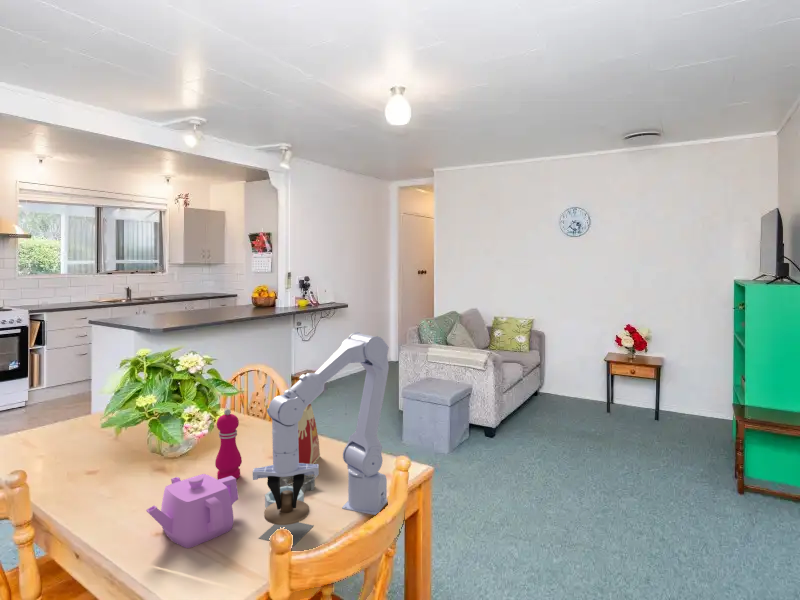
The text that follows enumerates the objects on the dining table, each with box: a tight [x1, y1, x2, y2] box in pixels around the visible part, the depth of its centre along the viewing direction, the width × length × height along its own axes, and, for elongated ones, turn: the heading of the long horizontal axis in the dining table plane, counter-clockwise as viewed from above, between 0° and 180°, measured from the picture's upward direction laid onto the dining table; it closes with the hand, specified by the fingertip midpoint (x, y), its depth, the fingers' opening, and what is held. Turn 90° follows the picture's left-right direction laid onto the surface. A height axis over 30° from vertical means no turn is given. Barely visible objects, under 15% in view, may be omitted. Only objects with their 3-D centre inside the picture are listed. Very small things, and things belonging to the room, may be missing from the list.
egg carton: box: [280, 475, 318, 494], centre depth 137 cm, size 11×8×4 cm
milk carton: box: [298, 403, 321, 464], centre depth 153 cm, size 9×9×20 cm
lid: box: [263, 490, 310, 525], centre depth 113 cm, size 10×10×5 cm
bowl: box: [264, 486, 305, 509], centre depth 125 cm, size 9×9×4 cm
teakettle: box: [145, 473, 239, 549], centre depth 114 cm, size 17×17×12 cm
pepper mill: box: [214, 408, 243, 480], centre depth 142 cm, size 7×7×20 cm
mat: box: [257, 521, 315, 547], centre depth 113 cm, size 9×9×1 cm
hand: (286, 506), depth 113 cm, fingers closed on lid, 3 cm apart
